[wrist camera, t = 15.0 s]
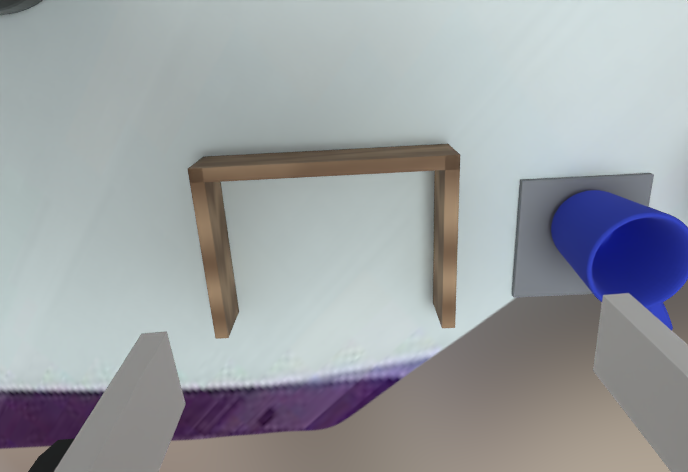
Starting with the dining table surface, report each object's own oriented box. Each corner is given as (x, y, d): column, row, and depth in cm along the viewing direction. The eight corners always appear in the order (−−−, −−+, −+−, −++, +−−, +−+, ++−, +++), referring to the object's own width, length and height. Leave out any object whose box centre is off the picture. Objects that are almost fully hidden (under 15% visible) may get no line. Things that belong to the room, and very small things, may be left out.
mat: (520, 179, 46) (522, 181, 46) (650, 173, 46) (653, 174, 46) (511, 294, 51) (513, 297, 50) (630, 289, 50) (634, 291, 50)
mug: (572, 305, 50) (624, 363, 41) (525, 206, 47) (571, 246, 37) (651, 268, 49) (724, 319, 40) (609, 163, 45) (678, 192, 36)
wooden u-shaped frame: (203, 156, 46) (187, 168, 41) (448, 143, 45) (460, 154, 41) (227, 312, 51) (215, 338, 47) (444, 302, 51) (455, 327, 46)
